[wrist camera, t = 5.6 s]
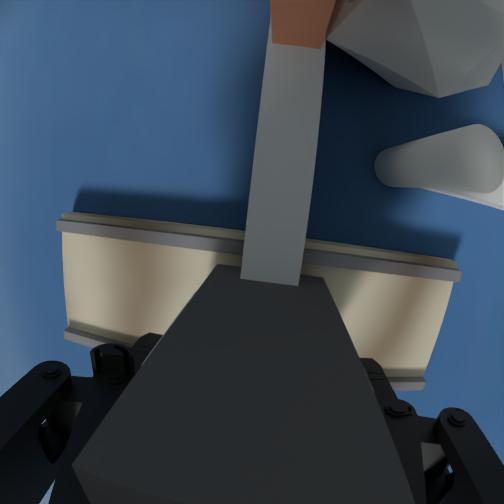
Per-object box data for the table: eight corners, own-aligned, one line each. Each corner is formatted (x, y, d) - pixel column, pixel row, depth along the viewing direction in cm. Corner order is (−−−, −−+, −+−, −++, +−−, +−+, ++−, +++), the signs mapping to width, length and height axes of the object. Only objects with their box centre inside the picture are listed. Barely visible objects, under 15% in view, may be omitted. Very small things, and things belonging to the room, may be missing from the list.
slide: (78, 332, 18) (65, 343, 17) (72, 211, 16) (56, 214, 15) (412, 380, 17) (420, 393, 15) (449, 259, 15) (463, 266, 14)
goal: (372, 183, 15) (454, 184, 7) (373, -59, 11) (402, -132, 3) (514, 218, 14) (606, 241, 6) (499, -6, 10) (554, -46, 3)
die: (363, -33, 12) (279, -106, 5) (500, -7, 8) (514, -90, 1) (357, 80, 17) (270, 68, 10) (493, 118, 13) (525, 129, 6)
